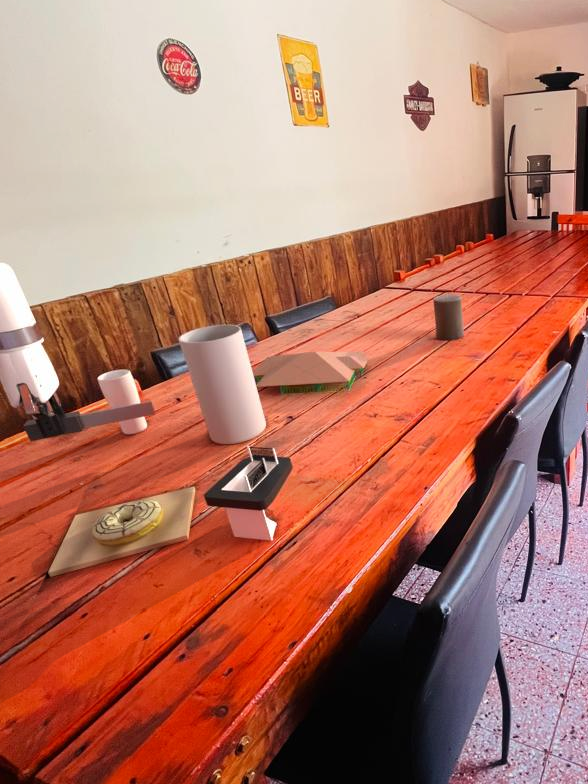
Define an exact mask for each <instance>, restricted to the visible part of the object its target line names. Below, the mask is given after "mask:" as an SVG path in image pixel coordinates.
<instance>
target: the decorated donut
mask: <svg viewBox="0 0 588 784" xmlns="http://www.w3.org/2000/svg"><path fill="white" fill-rule="evenodd" d="M130 502H131V503H128V502H126V503H127V504H124V503H123V504H124V505H122V506H120V507H117V508H115V509H113V510H111V511H109V512H107V513H106V514H105V515H103V516H101V517H100V518H99V519H98V520H97V521H96V522H95V524H94V526H93V529H92V535H93V537H94V538H95V540H96V541H98V542H99V543H100V544H102V545H105V546H120V545H125V544H128V543H132V542H134V541H137V540H138V539H141V538H143V537H144V536H146V535H148V534H149V533H150V532H151V531H153V530H154V529H156V528H157V527H158V526H159V524H160V523H161V521H162V517H163V509H162V508H161V507H160V505H159V504H158V502H157V501H149V500H146V501H138V502H132V501H130Z"/></svg>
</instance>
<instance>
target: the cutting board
mask: <svg viewBox="0 0 588 784" xmlns="http://www.w3.org/2000/svg"><path fill="white" fill-rule="evenodd" d="M195 496H196V487H195V486H190V487H186V488H182V489H181V488H180V489H178V490H174V491H169V492H165V493H162V494H157V495H153V496H149V497H145V498H141V499H135V500H132V501H129V502H124V503H120V504H115V505H112V506H108V507H103V508H99V509H95V510H92V511H91V510H90V511H87V512H83V513H78V514H75V515H74V517H73V519H72V521H71V524H70V525H69V528H68V530H67V532H66V534H65V536H64V538H63V540H62V543H61V545H60V547H59V548H58V551H57V552H56V555H55V557H54V559H53V561H52V563H51V565H50V567H49V569H48V572H47V574H48V575H49V577H50V578H52V577H55V576H60V575H63V574H67V573H70V572H71V573H72V572H75V571H78V570H82V569H85V568H89V567H92V566H96V565H100V564H103V563H108V562H111V561H114V560H118V559H122V558H125V557H129V556H132V555H137V554H140V553H144V552H147V551H151V550H155V549H159V548H162V547H165V546H166V547H167V546H169V545H170V546H171V545H174V544H177V543H181V542H184V541H188V540H189V539H190V538H189V537H190V530H191V524H192V517H193V511H194V505H195ZM146 500H149V501H157V502H158V504H159V505H160V507H161V508H162V509H163V517H162V521H161V523H160V524H159V526H158V527H157V528H156V529H154V530H153V531H151V532H150V533H149V534H148V535H146V536H144V537H143V538H141V539H138V540H137V541H134V542H132V543H128V544H125V545H120V546H105V545H102V544H100V543H99V542H98V541H96V540H95V538H94V537H93V535H92V529H93V526H94V524H95V522H96V521H97V520H98V519H99V518H100V517H101V516H103V515H105V514H106V513H107V512H109V511H111V510H113V509H115V508H117V507H120V506H122V505H124V504H127V503H131V502H138V501H146Z"/></svg>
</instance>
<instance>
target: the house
mask: <svg viewBox="0 0 588 784" xmlns="http://www.w3.org/2000/svg"><path fill="white" fill-rule="evenodd" d="M364 352H365V351H309V352H300V353H292V354H291V353H289V354H277V355H272V356H267V357H266V358H265V359H264V360H263V361H262V362H261V363H260V364H259V365H258V366H257V367H256V369H254V370H253V371H252V372H253V376H254V380H255V383H256V387H257V388H261V387H262V388H264V387H279V391H280V394H281V396H282V395H283V396H284V395H286V396H287V395H299V394H300V395H301V394H304V392H306V391H307V392H309V391H310V392H314V394H319V393H321V392H322V393H334V392H335V393H336V392H339V390H337V391H336V390H334V391H333V390H331V391H330V390H328V391H327V389H322V388H327V387H328V388H329V387H331V389H333V387H334V389H336V388H337V389H339V388H338V387H340V389H342V388H343V390H345V389H347V392H349V391H350V389H351V387H352V386H353V383H354V381H355V379H356V377H362V376H363V374H364V372H365V369H366V365H367V363H368V361H369V358H370V355H364V354H365V353H364ZM356 372H360V375H359V374H357V375H356ZM332 383H333V384H335V383H336V384H337V385H330V386H329V385H326V384H332ZM338 383H339V385H338ZM341 383H342V385H341ZM344 383H346V385H344ZM296 385H297V387H299V386H298V385H300V387H301V386H302V385H303V388H294V387H296ZM304 385H306V386H304ZM310 385H311V386H310ZM290 386H291V387H290ZM293 386H294V387H293ZM346 386H347V387H346ZM341 387H342V388H341ZM344 387H345V388H344ZM311 388H313V389H312V391H311ZM288 389H289V390H288ZM293 389H295V391H297V390H298V391H300V392H298V393H297V392H295V393H294V392H292V393H291V392H289V393H288V391H291V390H292V391H294V390H293ZM305 389H306V390H305ZM308 389H309V390H308ZM321 389H322V390H321ZM303 390H304V392H303ZM285 391H286V393H285Z"/></svg>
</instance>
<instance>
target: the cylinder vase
mask: <svg viewBox="0 0 588 784" xmlns="http://www.w3.org/2000/svg"><path fill="white" fill-rule="evenodd" d="M178 343H179V346H180V348H181V351H182V354H183V358H184V361H185V364H186V367H187V370H188V373H189V377H190V379H191V382H192V386H193V388H194V392H195V395H196V398H197V401H198V404H199V408H200V411H201V413H202V416H203V420H204V422H205V426H206V429H207V433H208V435H209V438H210V440H211V441H212V442H214V443H216V444H220V445H234V444H241V443H245V442H247V441H250V440H252V439H254V438H256V437H258V436H259V435H261V434H262V433H263V432H264V430H266V426H267V422H266V417H265V414H264V410H263V406H262V402H261V398H260V395H259V392H258V387H256V381H255V378H254V376H253V372H254V371H253V368H252V364H251V361H250V358H249V354H248V350H247V345H246V342H245V339H244V334H243V331H242V326H240V325H236V324H215V325H209V326H203V327H198V328H195V329H192V330H189V331H187V332H185V333H182V334H181V335H179V337H178Z"/></svg>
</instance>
